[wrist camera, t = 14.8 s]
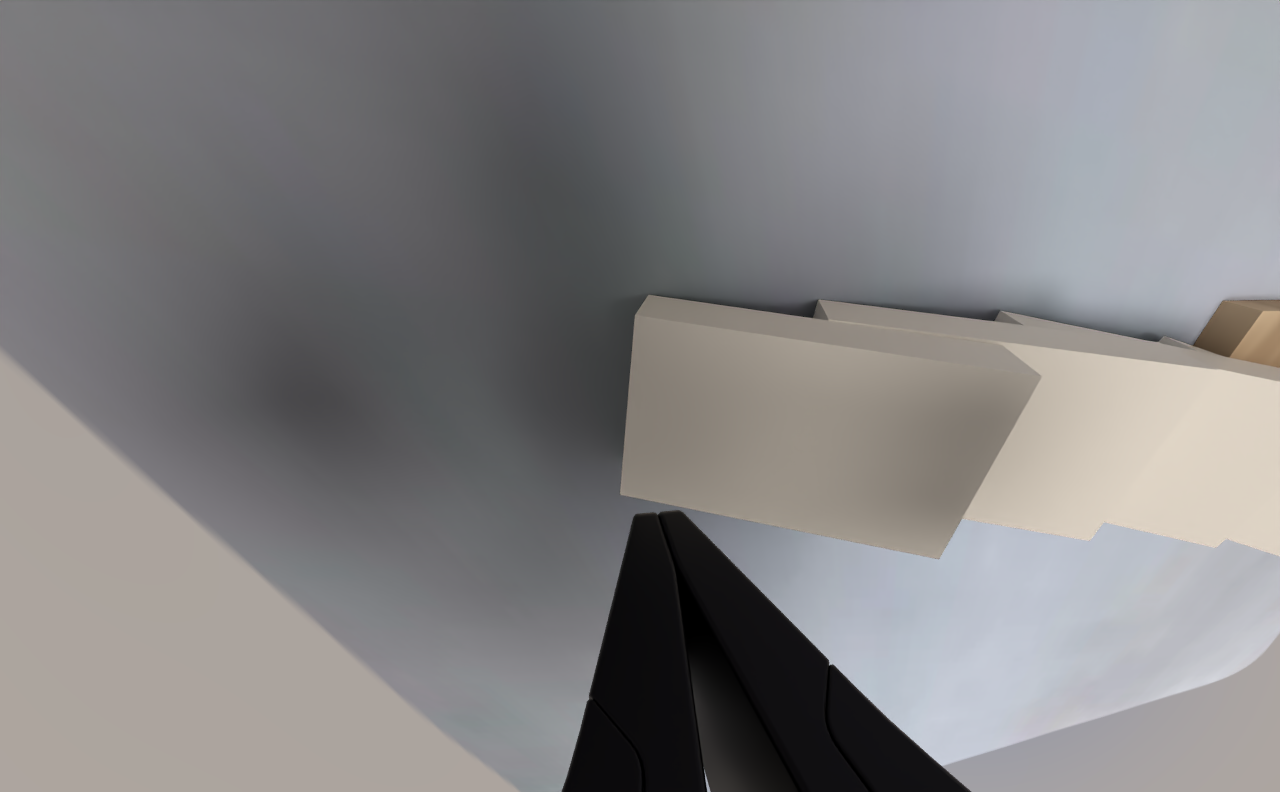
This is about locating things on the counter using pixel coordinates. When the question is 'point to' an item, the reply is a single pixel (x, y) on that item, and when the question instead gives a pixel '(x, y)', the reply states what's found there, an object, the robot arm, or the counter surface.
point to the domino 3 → (1205, 453)
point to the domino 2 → (1064, 416)
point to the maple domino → (1244, 331)
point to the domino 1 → (815, 422)
